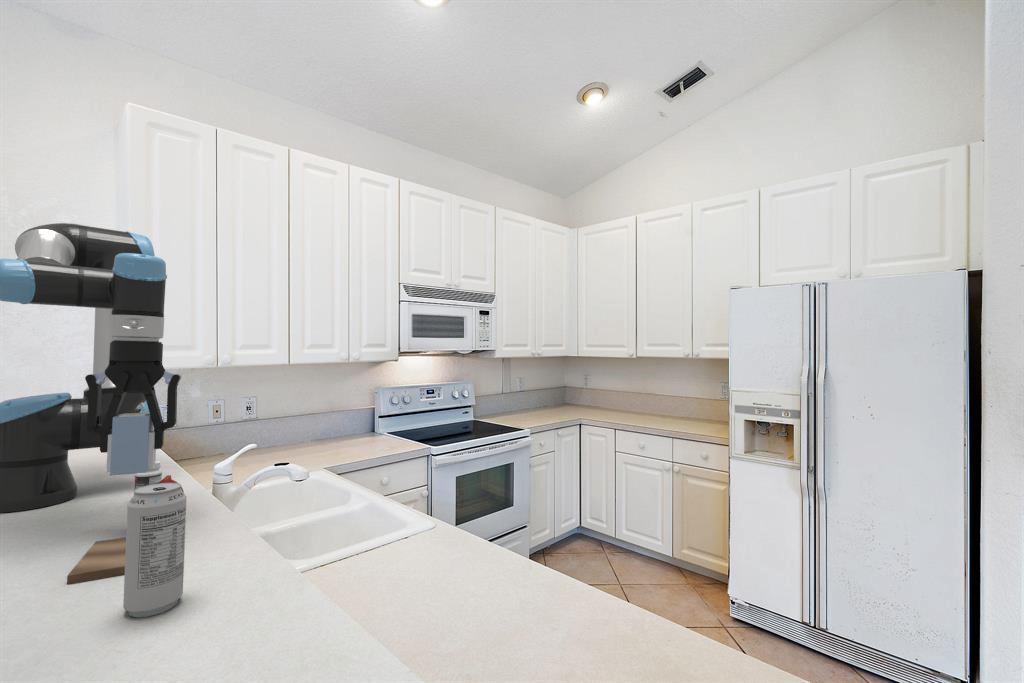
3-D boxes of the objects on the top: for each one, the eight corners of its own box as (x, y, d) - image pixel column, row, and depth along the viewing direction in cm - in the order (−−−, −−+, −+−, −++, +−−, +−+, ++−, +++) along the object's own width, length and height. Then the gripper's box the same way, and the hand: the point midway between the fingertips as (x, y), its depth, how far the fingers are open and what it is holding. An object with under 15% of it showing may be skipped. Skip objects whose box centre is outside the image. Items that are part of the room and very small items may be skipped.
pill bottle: (128, 502, 102) (129, 463, 102) (150, 496, 106) (152, 459, 106) (143, 504, 100) (145, 465, 101) (165, 498, 105) (167, 461, 105)
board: (95, 548, 77) (95, 541, 77) (176, 536, 82) (177, 529, 82) (66, 584, 65) (67, 575, 65) (164, 567, 70) (165, 559, 70)
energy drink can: (174, 590, 63) (178, 479, 64) (189, 605, 59) (193, 487, 60) (117, 608, 59) (122, 488, 59) (129, 625, 55) (134, 497, 55)
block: (117, 469, 85) (119, 413, 85) (151, 466, 87) (153, 412, 87) (109, 475, 80) (112, 416, 81) (146, 472, 83) (148, 415, 83)
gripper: (63, 337, 77) (56, 479, 76) (195, 341, 85) (189, 468, 85) (77, 338, 83) (71, 469, 82) (198, 341, 92) (194, 459, 91)
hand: (131, 468), depth 84 cm, fingers closed on block, 5 cm apart
